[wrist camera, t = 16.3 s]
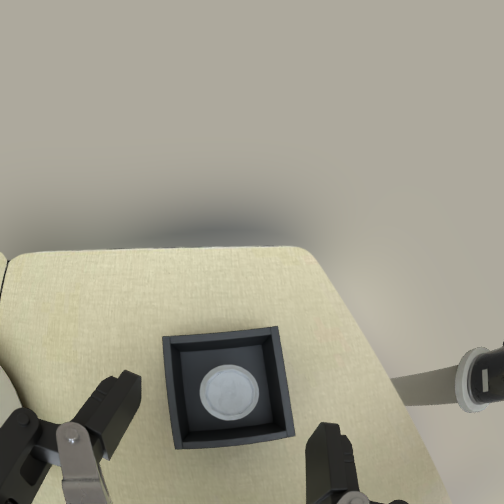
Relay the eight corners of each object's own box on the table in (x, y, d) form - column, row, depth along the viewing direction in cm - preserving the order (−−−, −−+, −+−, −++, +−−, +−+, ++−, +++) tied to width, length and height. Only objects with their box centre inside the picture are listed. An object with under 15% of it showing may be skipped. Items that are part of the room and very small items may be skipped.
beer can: (209, 411, 29) (204, 425, 18) (203, 373, 31) (194, 367, 20) (249, 406, 29) (265, 416, 19) (242, 368, 32) (255, 359, 21)
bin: (266, 338, 34) (277, 325, 27) (279, 426, 29) (295, 435, 22) (174, 347, 33) (162, 336, 26) (184, 436, 27) (174, 449, 21)
